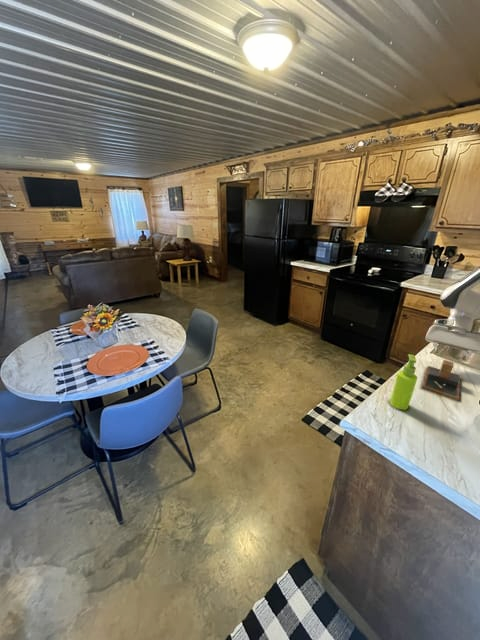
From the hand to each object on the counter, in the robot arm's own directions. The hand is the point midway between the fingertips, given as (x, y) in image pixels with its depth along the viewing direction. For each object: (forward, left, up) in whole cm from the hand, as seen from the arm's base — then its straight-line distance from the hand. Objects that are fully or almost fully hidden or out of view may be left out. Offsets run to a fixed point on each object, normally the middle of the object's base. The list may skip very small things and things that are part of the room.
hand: (449, 356), depth 111 cm
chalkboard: (+3, +4, -11) cm, 12 cm away
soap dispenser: (+29, +17, -11) cm, 35 cm away
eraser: (+3, +4, -10) cm, 11 cm away
